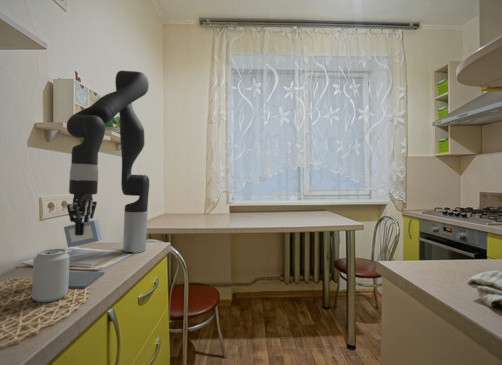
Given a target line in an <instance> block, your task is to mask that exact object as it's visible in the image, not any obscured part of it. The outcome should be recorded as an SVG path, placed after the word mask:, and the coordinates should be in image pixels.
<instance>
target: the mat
mask: <svg viewBox="0 0 502 365" xmlns="http://www.w3.org/2000/svg"><path fill="white" fill-rule="evenodd" d="M104 274H105V272H104V271H69V282H68V289H87V288H88V287H89V286H90V285H92V284H93V283H95V281H97V280H98V279H99V278H101V277H102V276H103V275H104Z"/></svg>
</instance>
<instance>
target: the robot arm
mask: <svg viewBox="0 0 502 365" xmlns="http://www.w3.org/2000/svg"><path fill="white" fill-rule="evenodd" d="M149 87H150V85H149V79H148V76H147V75H146V74H145V73H143V72H141V71H136V70H135V71H133V70H119V71H117V73H116V76H115V91H112V92H109V93H107V94H105V95H103V96H101V97H100V98H99V99H97V100H96V101H95V102H93V104H92V105H90V106H89V107H86V108H83V109H81V110H79V111H78V112H76V113H74V114H73V115H71V116H70V117H69V118H68V120H67V122H66V130H67V132H68V133H69V135H70V136H72V137H74V138H78V139H83V140H82V142H81V143H80V144H77V145H74V146H72V149H71V161H70V162H71V163H70V169H69V183H68V186H69V187H68V193H69V194H70V195H73V198H72V203H71V204H69V203H67V205H66V208H67V212H68V215H69V220H70V222H71V223H73V224H75V235H83V233H84V222H89V221H91V220H93V218H94V215H95V212H96V208H97V204H98V202H97V201H94V200H93V195H97V194H98V184H99V183H98V181H99V169H98V163H99V151H100V150H101V145H102V143H103V139H104V137H105V133H106V126H105V124H107V123H109V122H111V121H112V120H113V119H114V117H116V116H117V115H119V135H120V137H119V138H120V149H121V152H120V153H121V182H120V184H121V185H120V186H121V192H122V194H123V195H125V196H131V197H132V196H133V197H134V196H135V197H138V199H137V200H135V201H133V202H130V203H127V204H125V205H124V216H123V218H124V219H123V237H122V238H123V242H122V252H123V251H125V252H124V253H126V252H133V253H132V254H136V253H143V252H145V251H146V250H147V230H148V229H147V228H148V206H149V205H148V204H149V191H150V178H149V176H148V175H146V174H132V168H133V165H134V164H135V161H136V159H137V158H138V157H139V156H140V153H141V152H142V151H143V149H144V147H145V128H144V126H143V124H142V122H141V121H140V118H139V117H138V115H137V114H136V112H135V110H134V108H133V102H135V101H137V100H138V99H141V98H142V97H144V96H145V95H146V94H147V93H148V91H149Z"/></svg>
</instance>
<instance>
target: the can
mask: <svg viewBox="0 0 502 365" xmlns="http://www.w3.org/2000/svg"><path fill="white" fill-rule="evenodd" d="M67 252H68V249H66V248H49V249H43V250H39V251H37V253H36V256H35V257H34V258H33V261H32V262H33V263H32V285H31V298H32V300H34V301H36V302H37V303H50V302H55V301H58V300H61V299H63V298H64V297H65V296H66V295H67V294H68V293H69V288H68V282H69V272H70V256H71V255H70V254H69V253H67Z"/></svg>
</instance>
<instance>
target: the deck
mask: <svg viewBox="0 0 502 365" xmlns="http://www.w3.org/2000/svg"><path fill="white" fill-rule="evenodd" d="M99 223H100V222H99V220H98V219H94V220H90V221H89V222H84V233H83V235H75V223H73V224H69V225H65V226H63V229H64V235H65V240H66V243H67V248H69V249H70V248H73V247H78V246H82V245H86V244H87V245H88V244H91V243H96V242H100V241H101V240H102V239H103V238H102V234H101V229H100V224H99Z"/></svg>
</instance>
